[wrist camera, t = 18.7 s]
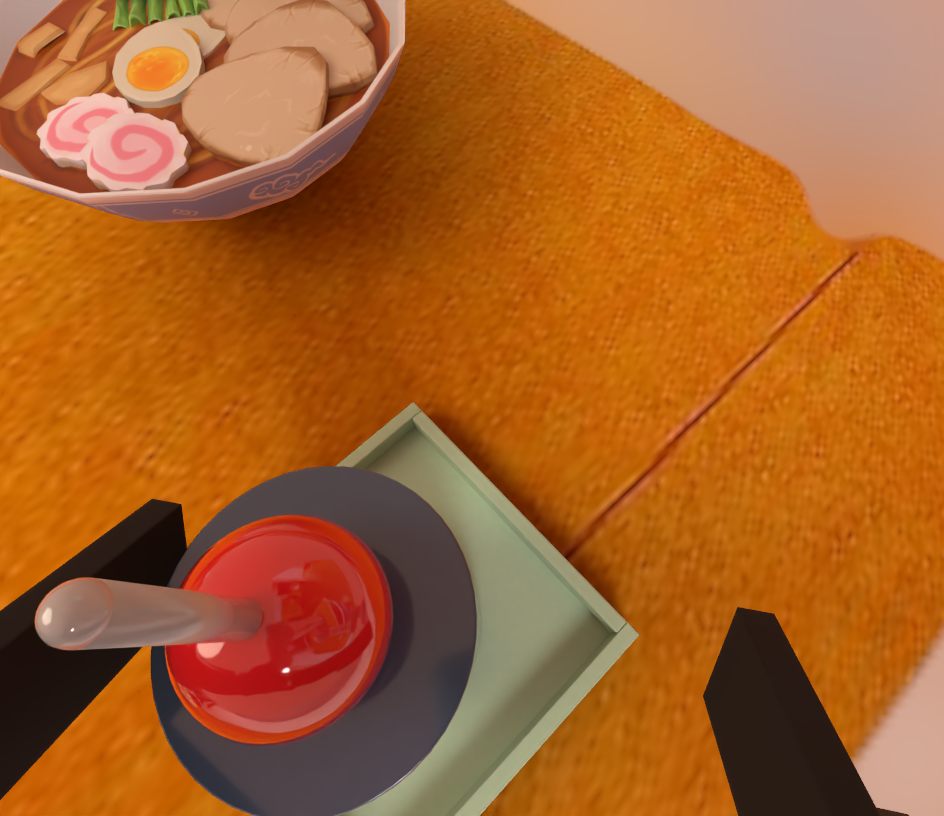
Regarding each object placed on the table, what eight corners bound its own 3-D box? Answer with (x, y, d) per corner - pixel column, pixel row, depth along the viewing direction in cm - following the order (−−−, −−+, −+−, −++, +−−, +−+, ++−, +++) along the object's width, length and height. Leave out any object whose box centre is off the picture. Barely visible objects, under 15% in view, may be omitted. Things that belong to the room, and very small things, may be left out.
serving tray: (628, 633, 21) (639, 634, 20) (375, 918, 18) (363, 947, 16) (417, 416, 25) (413, 400, 24) (180, 615, 22) (155, 614, 20)
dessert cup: (496, 704, 20) (544, 1103, 3) (318, 738, 20) (-670, 1381, 3) (466, 526, 22) (408, 232, 6) (309, 554, 22) (-229, 330, 6)
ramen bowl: (-34, 275, 29) (-214, 152, 22) (132, 21, 38) (44, -130, 30) (399, 329, 27) (366, 214, 20) (469, 47, 36) (465, -108, 28)
